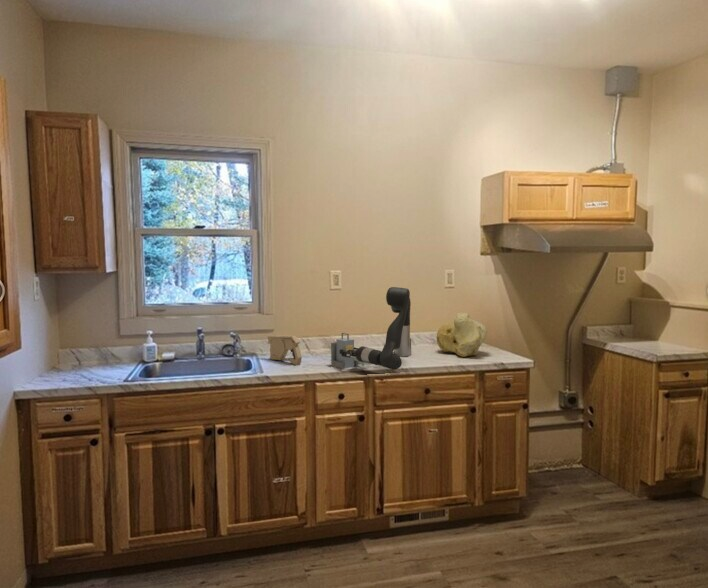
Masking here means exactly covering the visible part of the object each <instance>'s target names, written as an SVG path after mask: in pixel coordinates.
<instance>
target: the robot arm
mask: <svg viewBox="0 0 708 588" xmlns="http://www.w3.org/2000/svg"><path fill="white" fill-rule="evenodd" d="M385 295H386V296H385V300H386V301H385V302H386V304H387V305H388V306H390V308H391V311H392V312H393V313H395V314H398V315H397V316H396V318H395V319H394V320H393V321H391V324H389V326H388V328H387V330H386V335H385V336H386V337H385V343H384V346H383V348H382V350H379V349H375V348H372V347H367V346H360V347H355V346H354V350H350V349H349V350H342V349H340V354H342V356H343V357H348V358H350V357H355V358H357V360H358V361H360V362H364V363H368V364H369V365H375V366H379V367H383V368H387V369H389V370H391V371H393V370H394V371H396V370H398V369H400V368H401V366H402V363H403V360H402V358H401V357H409V356H412V337H411V297H410V296H411V295H410V289H409V288H406V287H405V288H404V287H398V286H390V287H389V288H388V289H387V291H386V294H385ZM350 351H351V353H350Z"/></svg>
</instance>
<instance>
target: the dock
mask: <svg viewBox="0 0 708 588" xmlns="http://www.w3.org/2000/svg"><path fill="white" fill-rule="evenodd" d="M330 364H331V365H330V366H331V367H333V368H338V369H340V370H345V368H344V363H343V362H339V361H337V358H336V341H335V342H330ZM354 367H359V364H358V360H354Z"/></svg>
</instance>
